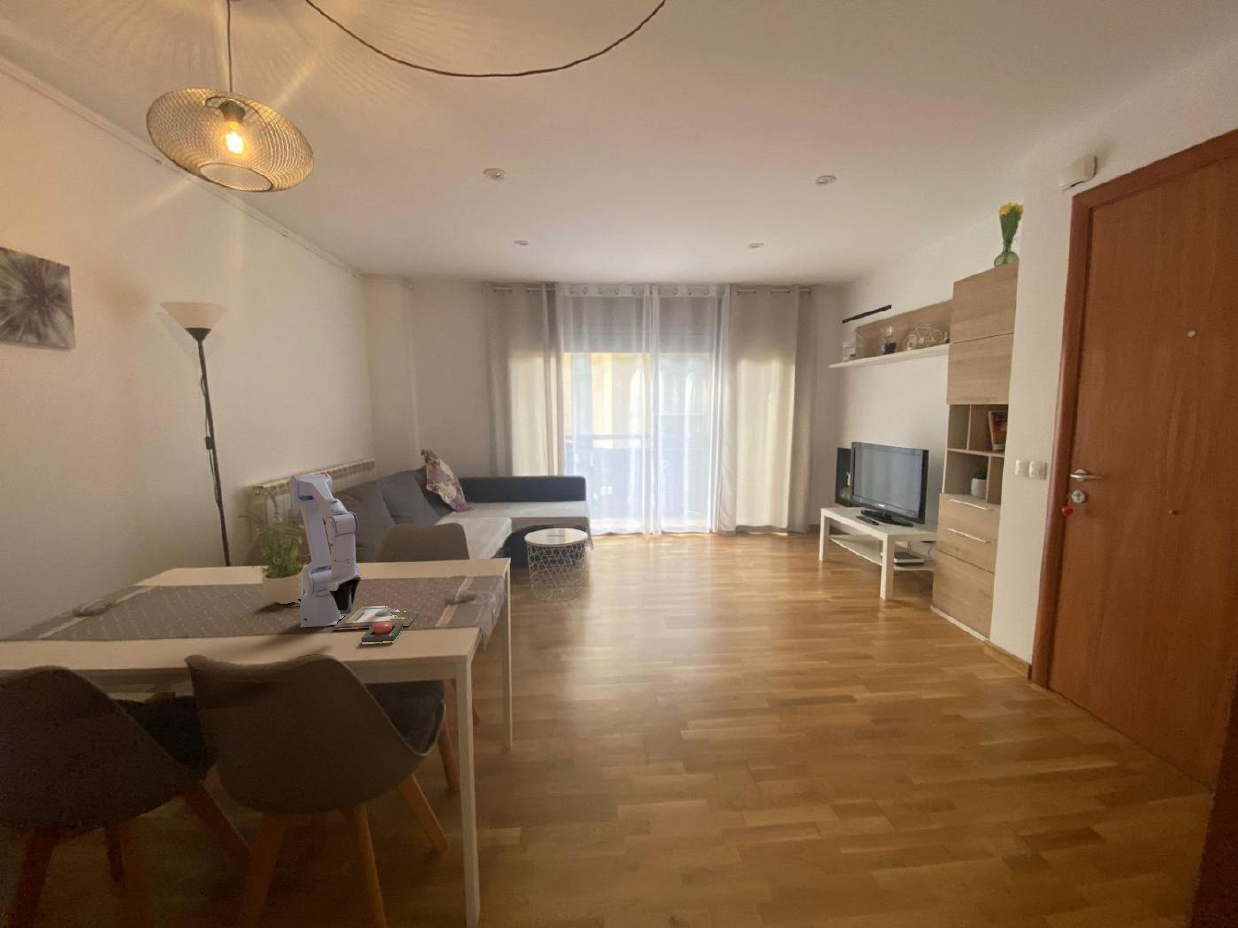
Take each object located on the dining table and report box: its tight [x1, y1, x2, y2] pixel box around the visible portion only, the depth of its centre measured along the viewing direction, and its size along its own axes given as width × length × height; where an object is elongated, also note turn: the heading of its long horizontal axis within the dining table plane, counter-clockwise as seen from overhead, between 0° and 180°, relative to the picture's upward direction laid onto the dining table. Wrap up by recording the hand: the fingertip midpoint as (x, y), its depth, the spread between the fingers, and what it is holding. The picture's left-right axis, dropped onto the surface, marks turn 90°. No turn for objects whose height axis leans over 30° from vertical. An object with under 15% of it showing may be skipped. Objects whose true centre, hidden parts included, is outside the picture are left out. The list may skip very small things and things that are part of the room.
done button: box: [374, 621, 392, 635], centre depth 125 cm, size 4×4×2 cm
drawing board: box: [333, 604, 406, 630], centre depth 138 cm, size 20×16×1 cm
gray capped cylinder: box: [340, 591, 353, 615], centre depth 124 cm, size 3×3×6 cm
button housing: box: [361, 623, 404, 643], centre depth 125 cm, size 8×8×2 cm
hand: (345, 607), depth 124 cm, fingers closed on gray capped cylinder, 3 cm apart
